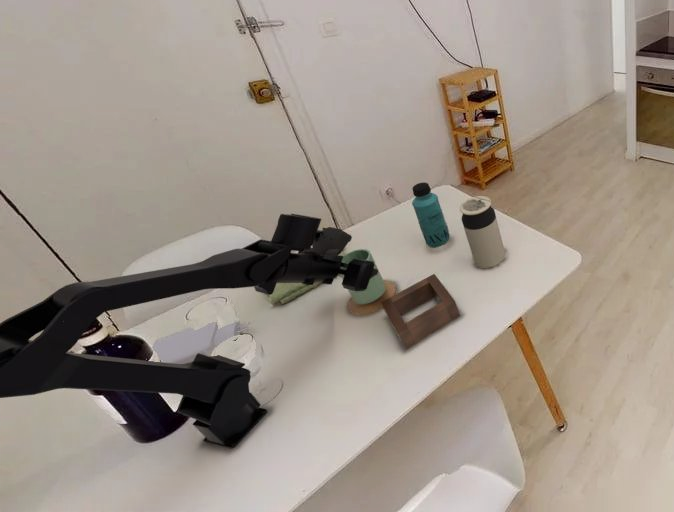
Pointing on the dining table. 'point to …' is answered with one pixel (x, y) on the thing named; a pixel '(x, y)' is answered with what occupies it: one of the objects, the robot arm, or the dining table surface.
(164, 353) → the charger
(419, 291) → the cup holder
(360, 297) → the cup
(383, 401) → the dining table surface
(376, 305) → the coaster
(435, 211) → the beverage bottle
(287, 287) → the washcloth
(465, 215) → the travel mug
